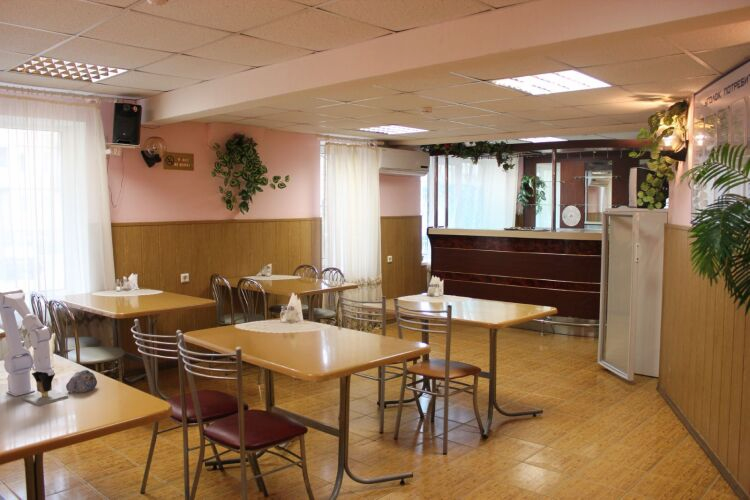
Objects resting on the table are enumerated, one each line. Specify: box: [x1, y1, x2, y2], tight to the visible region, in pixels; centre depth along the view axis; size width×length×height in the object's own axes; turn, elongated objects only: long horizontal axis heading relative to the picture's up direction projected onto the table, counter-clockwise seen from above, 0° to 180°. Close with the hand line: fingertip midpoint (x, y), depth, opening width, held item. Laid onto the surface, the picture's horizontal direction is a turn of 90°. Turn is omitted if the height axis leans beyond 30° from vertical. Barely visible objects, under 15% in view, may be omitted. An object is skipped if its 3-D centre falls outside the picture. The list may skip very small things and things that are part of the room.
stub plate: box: [21, 389, 69, 407], centre depth 256 cm, size 14×12×3 cm
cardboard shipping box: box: [36, 381, 53, 393], centre depth 255 cm, size 4×4×4 cm
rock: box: [65, 369, 98, 394], centre depth 266 cm, size 11×10×10 cm
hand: (44, 389), depth 255 cm, fingers closed on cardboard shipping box, 4 cm apart
